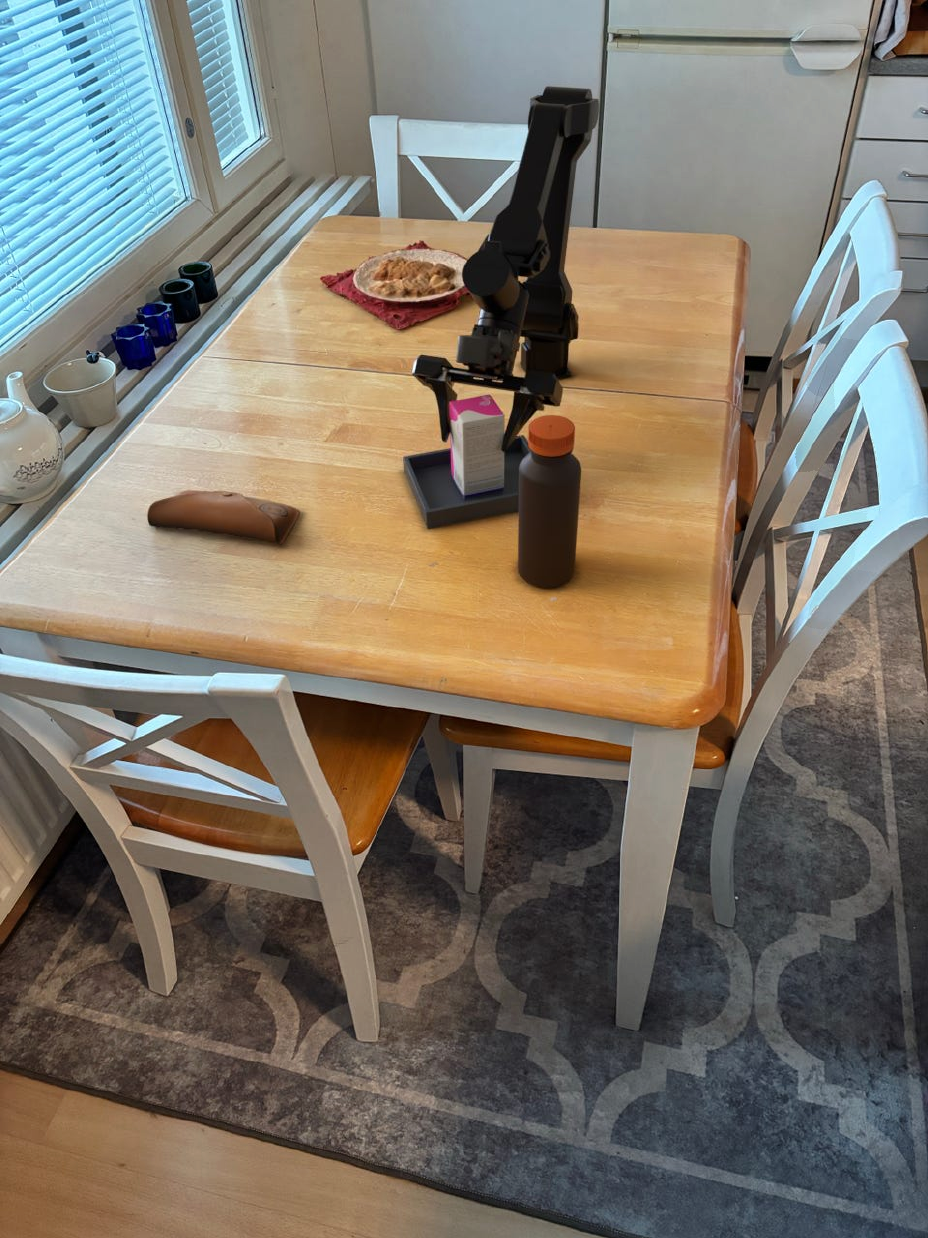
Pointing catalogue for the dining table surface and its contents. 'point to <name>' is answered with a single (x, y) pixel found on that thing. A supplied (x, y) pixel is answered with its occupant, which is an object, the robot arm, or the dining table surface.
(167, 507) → the sunglasses case
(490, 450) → the supplement box
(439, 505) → the serving tray
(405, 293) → the plate with food
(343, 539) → the dining table surface
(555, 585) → the bottle
